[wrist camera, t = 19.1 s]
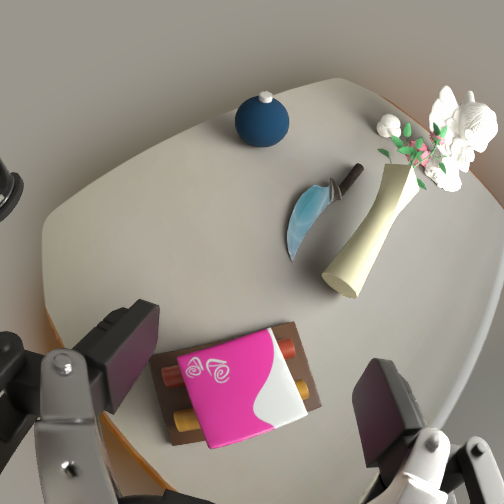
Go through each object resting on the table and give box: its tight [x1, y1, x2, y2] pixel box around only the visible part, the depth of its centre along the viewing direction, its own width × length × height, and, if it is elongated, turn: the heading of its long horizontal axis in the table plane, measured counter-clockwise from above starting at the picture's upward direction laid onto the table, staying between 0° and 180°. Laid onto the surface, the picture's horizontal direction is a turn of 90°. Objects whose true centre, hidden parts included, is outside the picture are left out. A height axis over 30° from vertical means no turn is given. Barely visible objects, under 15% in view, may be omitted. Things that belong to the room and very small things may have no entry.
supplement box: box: [177, 328, 307, 449], centre depth 18 cm, size 6×6×12 cm
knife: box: [287, 163, 364, 262], centre depth 37 cm, size 22×2×5 cm
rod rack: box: [149, 321, 322, 446], centre depth 25 cm, size 16×10×3 cm, turn 106°
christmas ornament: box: [235, 92, 289, 147], centre depth 39 cm, size 8×8×10 cm
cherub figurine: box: [424, 86, 498, 192], centre depth 38 cm, size 13×12×20 cm
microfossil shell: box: [377, 114, 401, 138], centre depth 46 cm, size 4×5×6 cm
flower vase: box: [321, 122, 448, 299], centre depth 36 cm, size 12×12×35 cm
